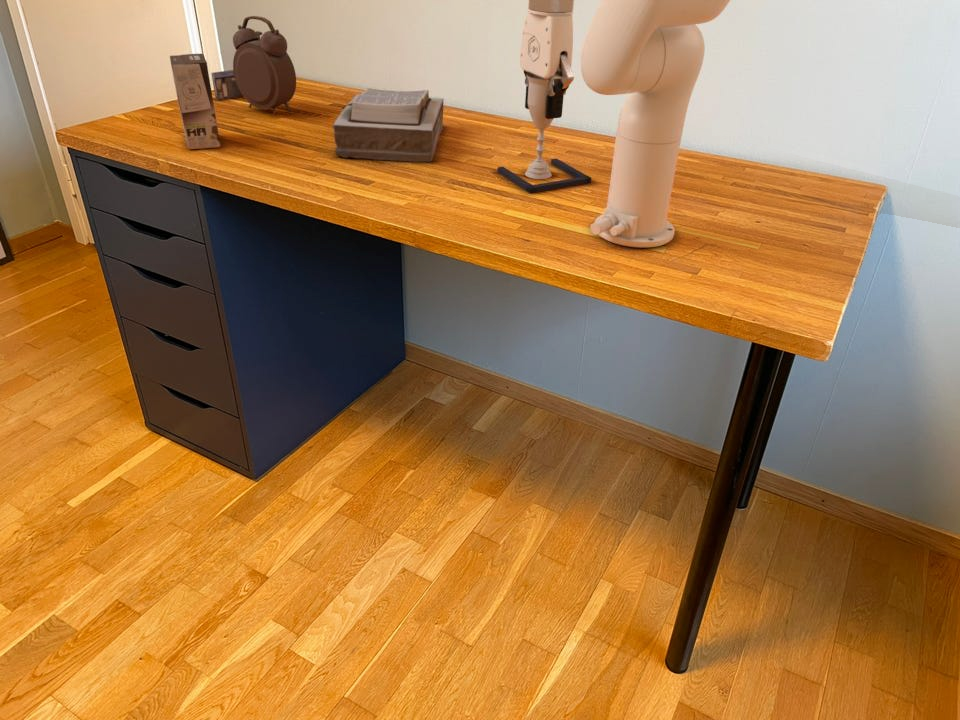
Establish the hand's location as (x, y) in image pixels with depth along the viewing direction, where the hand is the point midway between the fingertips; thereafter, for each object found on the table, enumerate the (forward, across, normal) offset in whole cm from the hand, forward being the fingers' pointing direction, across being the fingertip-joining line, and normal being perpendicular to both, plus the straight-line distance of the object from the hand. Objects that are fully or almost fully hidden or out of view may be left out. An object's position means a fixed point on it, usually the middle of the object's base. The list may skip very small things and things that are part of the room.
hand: (543, 112), depth 132 cm
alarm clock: (+12, -61, -35) cm, 72 cm away
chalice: (+12, 0, 0) cm, 12 cm away
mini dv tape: (+12, -76, -40) cm, 87 cm away
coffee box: (+12, -44, -53) cm, 70 cm away
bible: (+12, -29, -18) cm, 36 cm away
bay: (+12, +2, 0) cm, 12 cm away
